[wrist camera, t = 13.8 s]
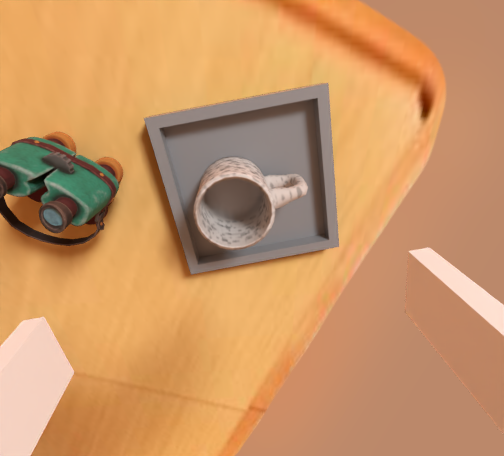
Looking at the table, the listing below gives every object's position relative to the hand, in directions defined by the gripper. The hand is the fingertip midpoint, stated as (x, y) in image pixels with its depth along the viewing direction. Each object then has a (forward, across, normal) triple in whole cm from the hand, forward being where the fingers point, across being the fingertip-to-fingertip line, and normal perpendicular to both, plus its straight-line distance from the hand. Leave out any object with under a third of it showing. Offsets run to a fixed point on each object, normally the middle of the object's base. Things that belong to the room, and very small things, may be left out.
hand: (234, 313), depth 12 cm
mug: (+22, -2, +2) cm, 22 cm away
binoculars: (+22, +15, -1) cm, 27 cm away
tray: (+22, -2, +2) cm, 22 cm away
